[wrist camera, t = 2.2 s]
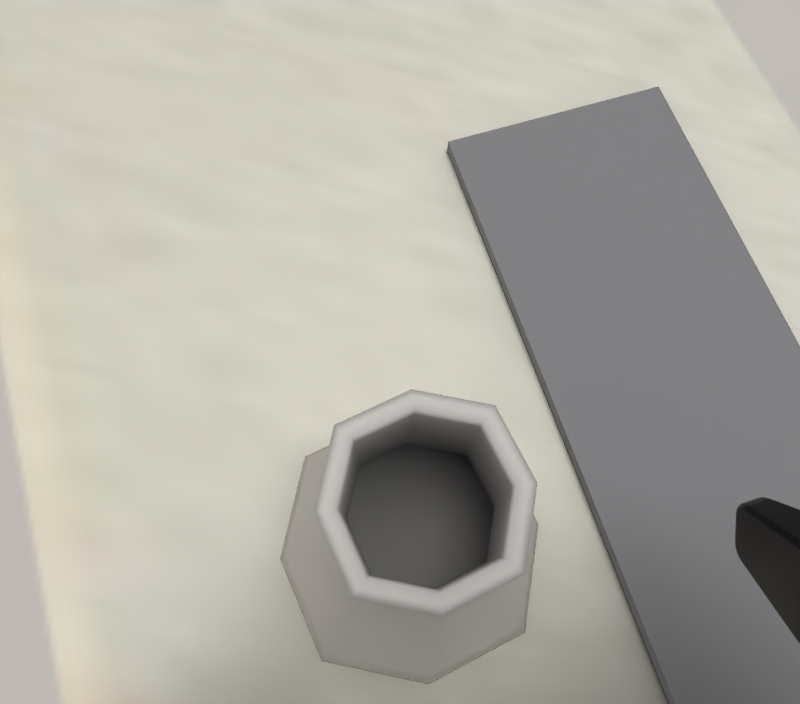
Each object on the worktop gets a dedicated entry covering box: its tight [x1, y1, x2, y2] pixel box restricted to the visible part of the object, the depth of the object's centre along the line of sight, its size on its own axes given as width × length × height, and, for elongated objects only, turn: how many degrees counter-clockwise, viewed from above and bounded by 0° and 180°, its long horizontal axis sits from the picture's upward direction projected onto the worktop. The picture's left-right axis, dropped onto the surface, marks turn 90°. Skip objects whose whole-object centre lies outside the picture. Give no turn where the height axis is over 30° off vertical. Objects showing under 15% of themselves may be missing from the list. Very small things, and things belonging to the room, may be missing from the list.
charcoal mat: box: [447, 87, 800, 704], centre depth 20 cm, size 20×8×1 cm, turn 18°
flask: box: [281, 389, 538, 684], centre depth 14 cm, size 7×7×10 cm
